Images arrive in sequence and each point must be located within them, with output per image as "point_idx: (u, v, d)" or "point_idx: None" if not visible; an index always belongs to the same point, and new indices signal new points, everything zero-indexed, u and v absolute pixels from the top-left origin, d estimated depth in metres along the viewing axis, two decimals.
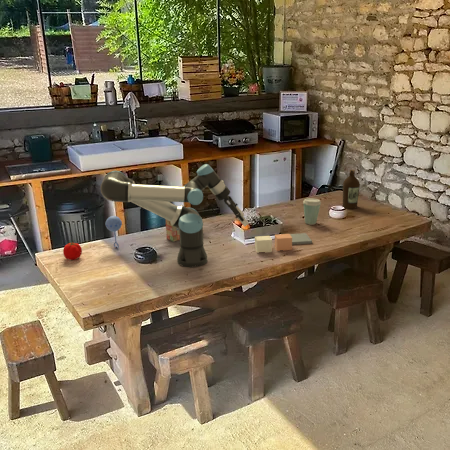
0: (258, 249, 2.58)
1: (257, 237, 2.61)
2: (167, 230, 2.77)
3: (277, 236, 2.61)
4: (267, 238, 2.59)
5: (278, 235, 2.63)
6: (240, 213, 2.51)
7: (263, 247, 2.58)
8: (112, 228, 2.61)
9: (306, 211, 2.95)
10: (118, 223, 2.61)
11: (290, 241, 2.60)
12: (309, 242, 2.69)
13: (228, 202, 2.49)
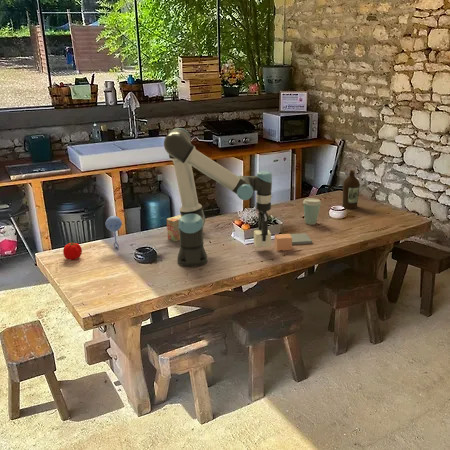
0: (257, 243, 2.57)
1: (256, 231, 2.59)
2: (168, 230, 2.77)
3: (277, 236, 2.61)
4: None
5: (278, 235, 2.63)
6: None
7: None
8: (112, 228, 2.61)
9: (306, 211, 2.95)
10: (118, 223, 2.61)
11: (290, 241, 2.60)
12: (309, 242, 2.69)
13: (265, 219, 2.49)
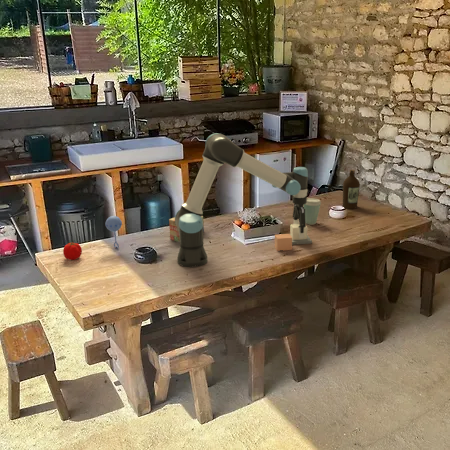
0: (294, 236, 2.70)
1: (293, 225, 2.73)
2: (171, 230, 2.77)
3: (277, 236, 2.61)
4: None
5: (278, 235, 2.63)
6: None
7: (298, 234, 2.70)
8: (112, 228, 2.61)
9: (306, 211, 2.95)
10: (118, 223, 2.61)
11: (290, 241, 2.60)
12: (309, 242, 2.69)
13: (302, 210, 2.62)
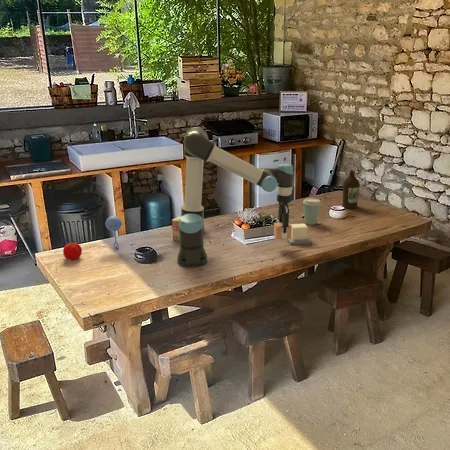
0: (294, 236, 2.70)
1: (293, 225, 2.73)
2: (174, 231, 2.76)
3: (276, 224, 2.59)
4: (302, 225, 2.71)
5: (277, 223, 2.60)
6: None
7: (298, 234, 2.70)
8: (112, 228, 2.61)
9: (306, 211, 2.95)
10: (118, 223, 2.61)
11: (289, 229, 2.58)
12: (309, 242, 2.69)
13: (286, 211, 2.50)
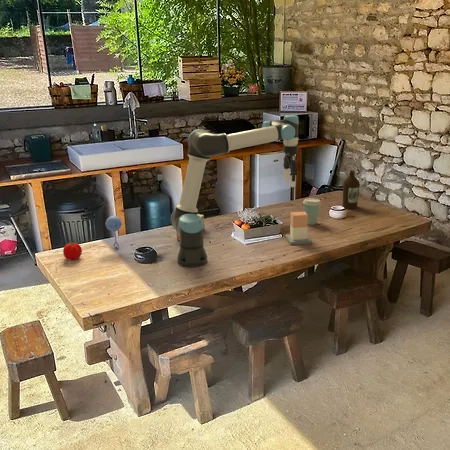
0: (294, 236, 2.70)
1: None
2: None
3: (293, 213, 2.69)
4: None
5: (294, 213, 2.70)
6: None
7: (298, 234, 2.70)
8: (112, 228, 2.61)
9: (306, 211, 2.95)
10: (118, 223, 2.61)
11: (306, 218, 2.68)
12: (309, 242, 2.69)
13: (293, 157, 2.59)
